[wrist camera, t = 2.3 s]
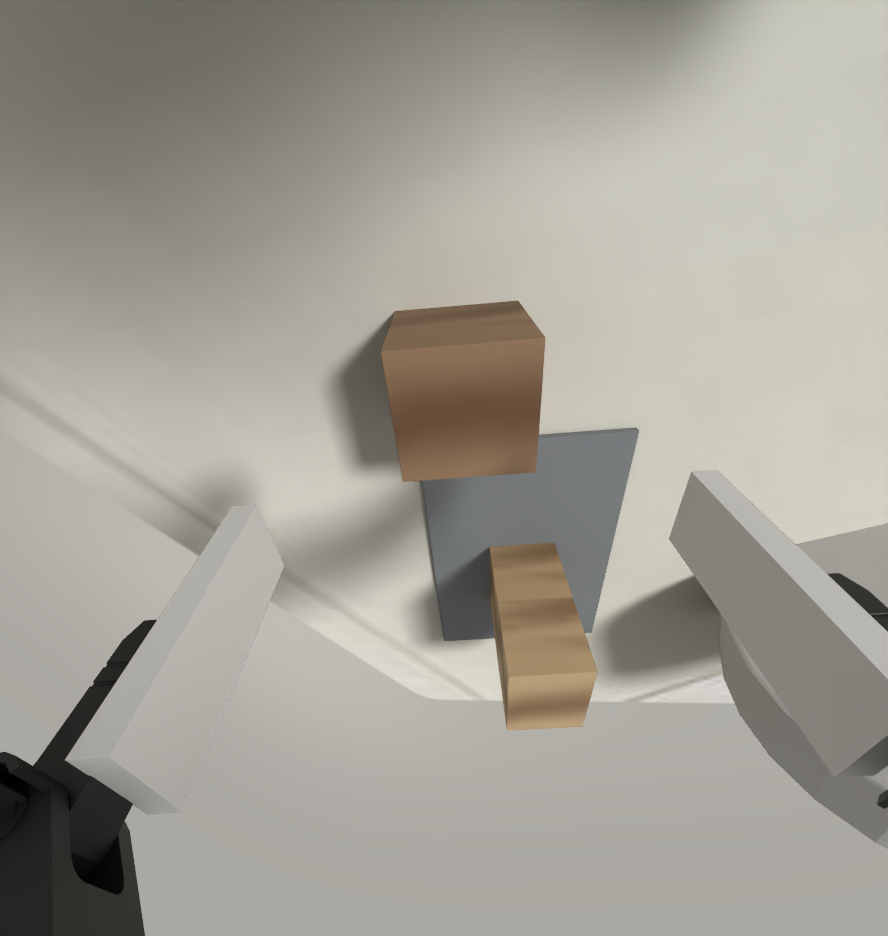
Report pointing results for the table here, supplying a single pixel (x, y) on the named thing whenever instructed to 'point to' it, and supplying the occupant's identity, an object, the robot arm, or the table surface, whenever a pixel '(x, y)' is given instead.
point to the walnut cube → (464, 390)
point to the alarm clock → (851, 798)
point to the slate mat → (529, 523)
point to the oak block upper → (543, 664)
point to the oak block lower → (525, 575)
